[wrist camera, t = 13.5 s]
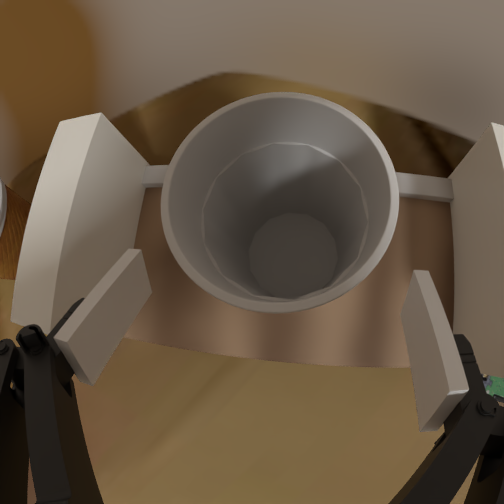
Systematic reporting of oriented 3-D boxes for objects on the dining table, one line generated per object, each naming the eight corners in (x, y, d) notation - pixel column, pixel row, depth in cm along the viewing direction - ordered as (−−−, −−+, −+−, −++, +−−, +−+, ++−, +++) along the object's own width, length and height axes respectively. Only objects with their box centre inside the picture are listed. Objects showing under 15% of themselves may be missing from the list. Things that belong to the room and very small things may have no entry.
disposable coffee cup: (88, 210, 29) (5, 158, 18) (70, 304, 27) (-28, 285, 16) (32, 209, 31) (-42, 170, 19) (15, 290, 29) (-68, 269, 17)
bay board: (472, 198, 23) (491, 181, 20) (474, 361, 20) (497, 364, 17) (128, 181, 29) (108, 164, 25) (102, 328, 26) (76, 327, 22)
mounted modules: (486, 185, 20) (536, 135, 13) (492, 363, 17) (559, 371, 10) (112, 168, 26) (60, 121, 18) (82, 327, 23) (10, 321, 15)
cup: (373, 284, 20) (443, 236, 9) (266, 340, 21) (215, 357, 9) (317, 186, 23) (318, 65, 11) (217, 236, 23) (135, 154, 11)
